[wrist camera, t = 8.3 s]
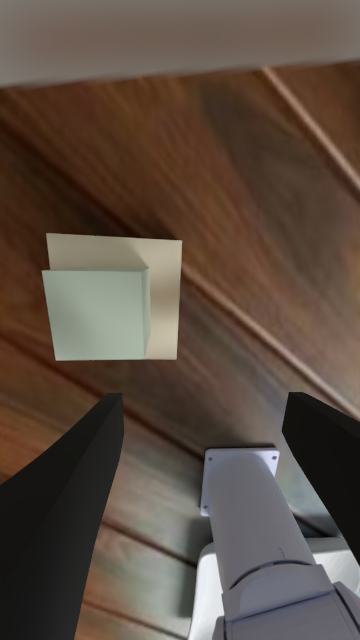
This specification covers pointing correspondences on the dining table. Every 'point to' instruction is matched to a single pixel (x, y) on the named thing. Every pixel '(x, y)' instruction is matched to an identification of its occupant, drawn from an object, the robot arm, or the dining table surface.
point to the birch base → (132, 254)
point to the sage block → (99, 312)
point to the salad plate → (209, 590)
